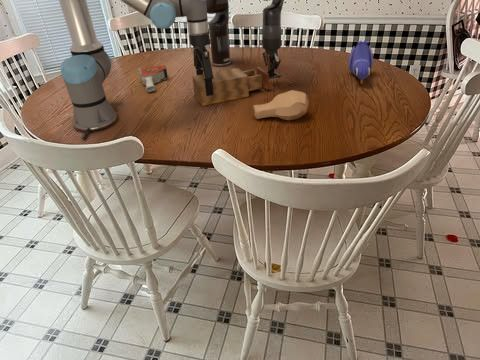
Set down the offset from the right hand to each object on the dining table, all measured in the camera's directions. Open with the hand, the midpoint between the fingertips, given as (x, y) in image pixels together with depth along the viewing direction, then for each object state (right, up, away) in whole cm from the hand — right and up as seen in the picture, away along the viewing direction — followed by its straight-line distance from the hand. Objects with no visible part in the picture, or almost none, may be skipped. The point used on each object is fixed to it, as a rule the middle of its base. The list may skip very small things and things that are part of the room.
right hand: (271, 78), depth 152 cm
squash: (+2, -21, -23) cm, 31 cm away
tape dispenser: (-54, +1, +12) cm, 55 cm away
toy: (+39, +1, +3) cm, 39 cm away
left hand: (-27, -7, -8) cm, 29 cm away
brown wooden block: (-21, -9, -4) cm, 23 cm away
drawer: (-9, -5, -1) cm, 10 cm away
